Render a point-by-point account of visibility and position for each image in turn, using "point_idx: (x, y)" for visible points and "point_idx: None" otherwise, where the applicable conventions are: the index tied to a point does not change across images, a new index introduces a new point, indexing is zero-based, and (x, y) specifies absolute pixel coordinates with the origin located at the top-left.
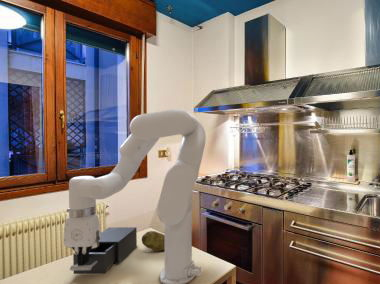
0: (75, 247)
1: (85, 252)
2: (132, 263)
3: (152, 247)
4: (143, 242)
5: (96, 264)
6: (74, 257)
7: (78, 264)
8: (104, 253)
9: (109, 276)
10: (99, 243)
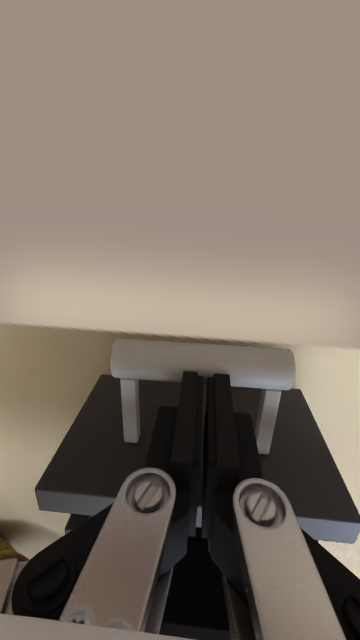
0: (312, 624)
1: (122, 492)
2: (39, 457)
3: None
4: None
5: (140, 420)
6: (335, 487)
7: (221, 380)
8: (44, 496)
9: (80, 362)
10: (214, 631)
